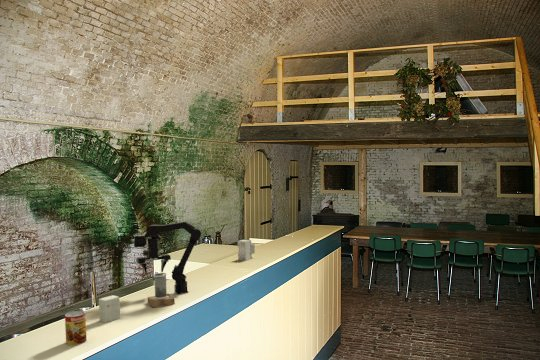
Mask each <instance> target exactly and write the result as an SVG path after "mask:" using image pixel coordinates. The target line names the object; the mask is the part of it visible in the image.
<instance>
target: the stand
mask: <svg viewBox="0 0 540 360" xmlns="http://www.w3.org/2000/svg"><path fill="white" fill-rule="evenodd" d="M167 295H168V298H165V299H154V296H155V295H153V296H147V304H148V305H149V306H151V307H152V308H153V309H154V308H159V307H165V306H171V305H176V303H175V302H176V301H175V298H174V296H172V295H171V294H169V293H167Z"/></svg>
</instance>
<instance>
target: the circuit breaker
mask: <svg viewBox="0 0 540 360" xmlns="http://www.w3.org/2000/svg"><path fill="white" fill-rule="evenodd" d="M237 249H238V250H237V251H238V253H237V258H238V259H237V260H238V261H246V262H247V261H250V260H252V258H253V257H252V254H255V251H256V250H255V243H252V240H251V239H240V240H237Z"/></svg>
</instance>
